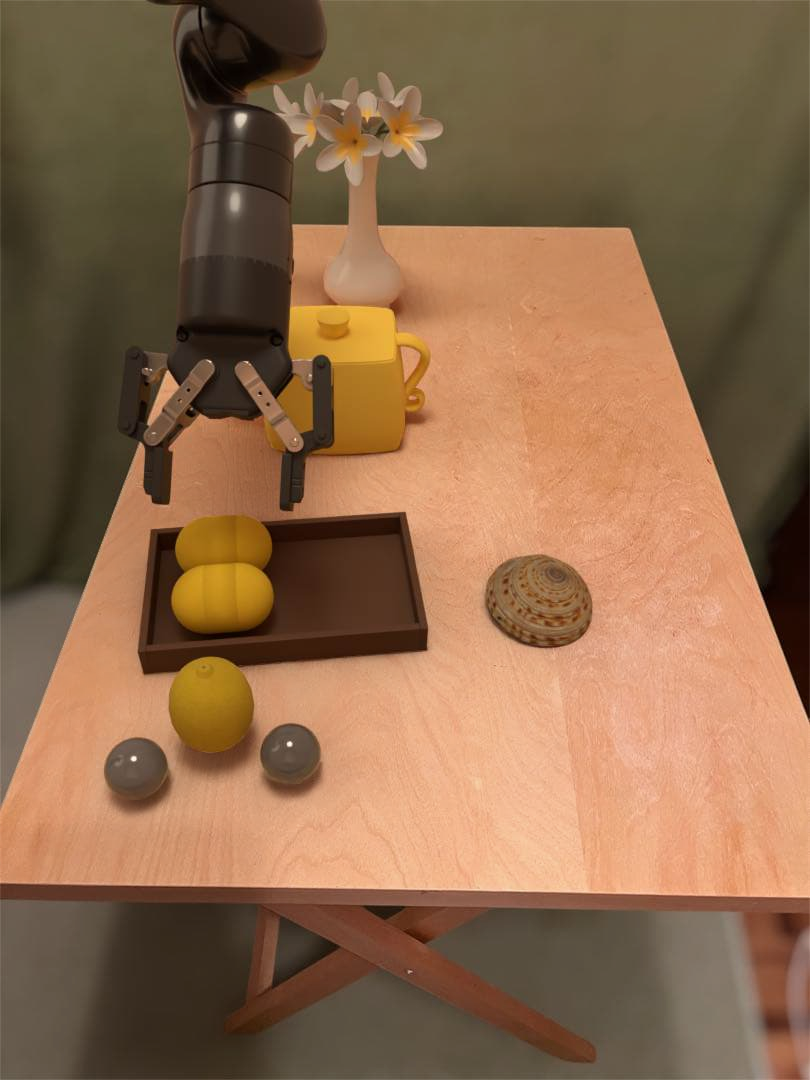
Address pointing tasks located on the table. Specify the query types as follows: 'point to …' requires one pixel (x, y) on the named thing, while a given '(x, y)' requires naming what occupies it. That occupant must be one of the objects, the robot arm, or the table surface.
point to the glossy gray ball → (135, 768)
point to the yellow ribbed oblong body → (222, 598)
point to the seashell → (539, 600)
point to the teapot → (354, 376)
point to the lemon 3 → (211, 704)
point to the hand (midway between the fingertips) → (223, 507)
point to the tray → (301, 596)
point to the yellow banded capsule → (223, 542)
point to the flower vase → (361, 176)
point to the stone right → (290, 753)
